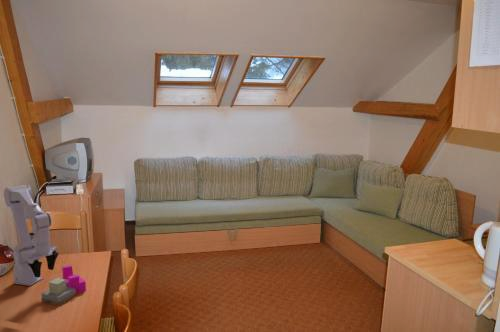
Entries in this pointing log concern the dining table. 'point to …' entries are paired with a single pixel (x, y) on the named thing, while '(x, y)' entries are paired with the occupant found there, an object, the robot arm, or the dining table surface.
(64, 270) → the toy block
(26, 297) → the dining table surface
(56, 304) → the grey square slab
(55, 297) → the slate top slab
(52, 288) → the sage cube
